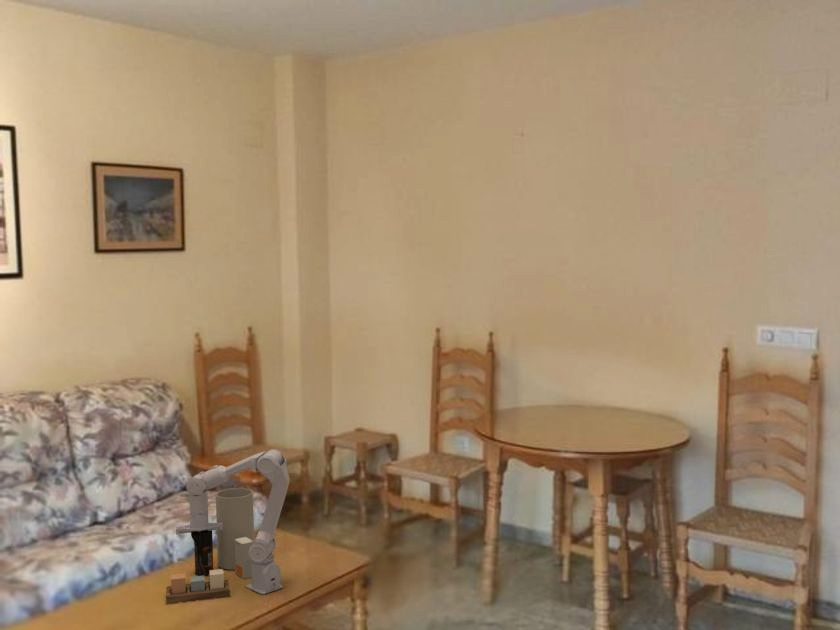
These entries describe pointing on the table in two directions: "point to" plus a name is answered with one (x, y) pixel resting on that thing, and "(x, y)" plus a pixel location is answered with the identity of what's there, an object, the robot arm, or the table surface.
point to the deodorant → (204, 557)
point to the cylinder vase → (233, 522)
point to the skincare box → (243, 557)
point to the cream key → (216, 579)
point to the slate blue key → (197, 583)
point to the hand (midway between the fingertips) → (200, 553)
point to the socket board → (197, 593)
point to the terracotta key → (178, 583)
